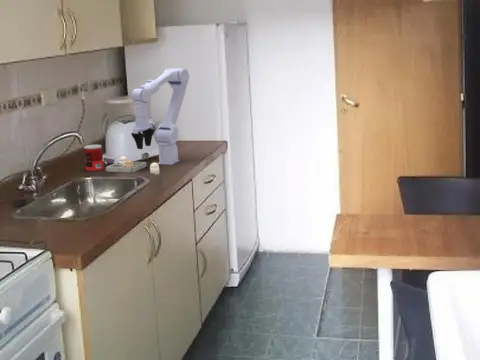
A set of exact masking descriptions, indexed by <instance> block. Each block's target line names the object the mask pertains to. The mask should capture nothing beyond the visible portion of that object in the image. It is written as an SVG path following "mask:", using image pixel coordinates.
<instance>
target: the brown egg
mask: <svg viewBox="0 0 480 360" xmlns="http://www.w3.org/2000/svg"><path fill="white" fill-rule="evenodd" d="M127 159H128V160H126V161H125V168H133V167H134V163H133V162H134V161H133V160H132V159H131V158H130V159H129V158H127Z"/></svg>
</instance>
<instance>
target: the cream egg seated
mask: <svg viewBox="0 0 480 360" xmlns="http://www.w3.org/2000/svg"><path fill="white" fill-rule="evenodd" d="M128 159H129V158H127V156H125V155H122V156H120V157H119V158H118V162H119V164H125V161H126V160H128Z"/></svg>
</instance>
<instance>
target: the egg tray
mask: <svg viewBox="0 0 480 360" xmlns="http://www.w3.org/2000/svg"><path fill="white" fill-rule="evenodd" d="M133 163H134V167H133V168H125V164H119V161H118V162H115V163H112V164H110V165H108V166H106V167H105V172H108V173H109V172H111V173H113V172H114V173H132V174H133V173H135V172H138V171H140V170H142V169H144V168H146V167H148V163H147V162H146V161H133Z"/></svg>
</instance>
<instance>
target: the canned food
mask: <svg viewBox="0 0 480 360" xmlns="http://www.w3.org/2000/svg"><path fill="white" fill-rule="evenodd" d="M102 147H103V146H102V144H87V145H85V146H83V154H84V155H83V156H84V166H85V170H86V171H87V172H96V171H98V172H99V171H102V170H104V158H103V148H102Z"/></svg>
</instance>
